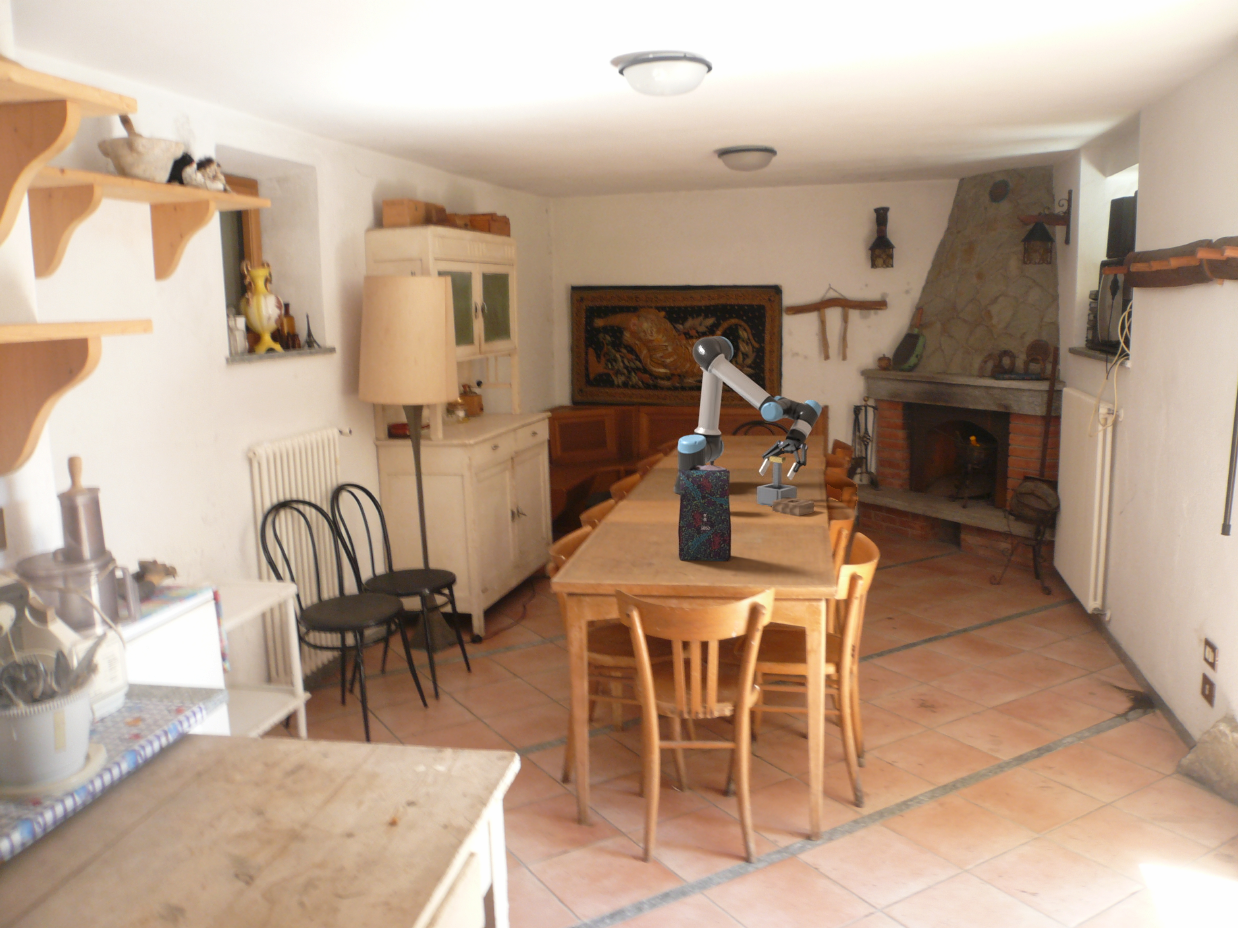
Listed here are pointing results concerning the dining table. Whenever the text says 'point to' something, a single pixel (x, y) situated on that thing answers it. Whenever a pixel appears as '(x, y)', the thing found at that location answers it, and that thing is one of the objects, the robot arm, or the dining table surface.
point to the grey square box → (774, 493)
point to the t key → (777, 470)
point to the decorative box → (704, 515)
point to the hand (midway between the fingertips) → (774, 475)
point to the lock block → (793, 506)
